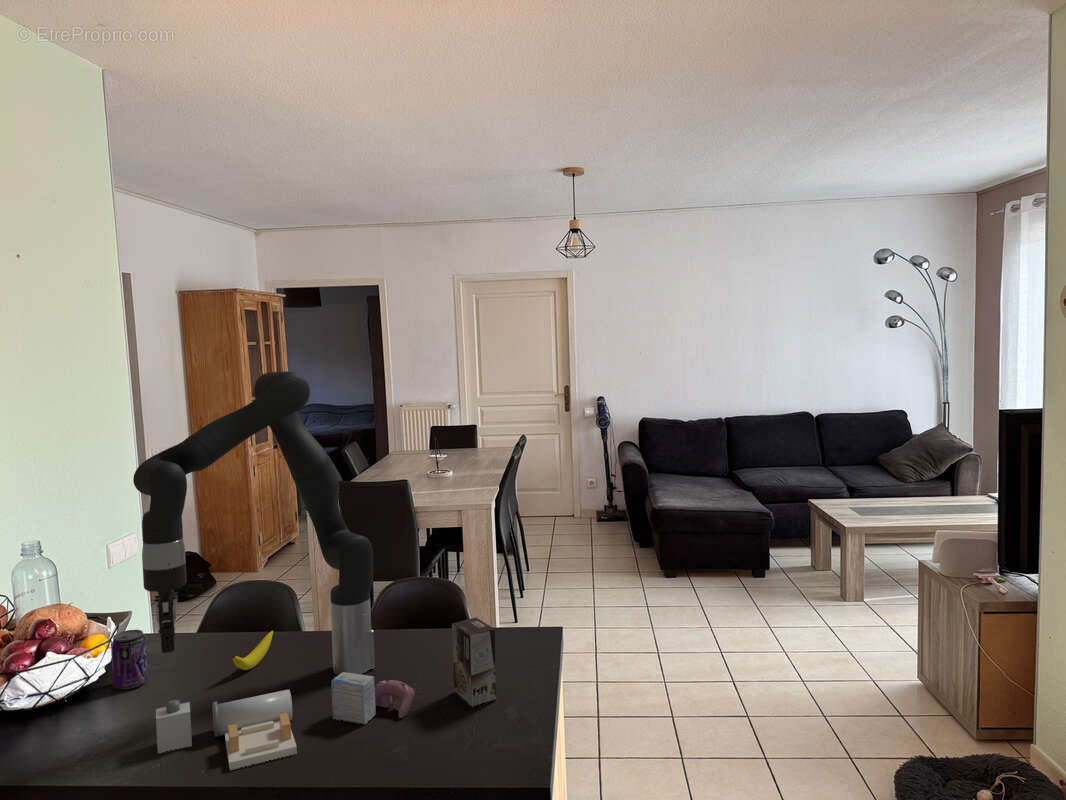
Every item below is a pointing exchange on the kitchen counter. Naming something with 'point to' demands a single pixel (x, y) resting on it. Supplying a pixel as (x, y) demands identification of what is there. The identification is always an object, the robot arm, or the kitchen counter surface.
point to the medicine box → (353, 697)
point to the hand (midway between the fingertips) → (168, 643)
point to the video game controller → (398, 689)
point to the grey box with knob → (173, 726)
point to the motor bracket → (256, 728)
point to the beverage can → (129, 659)
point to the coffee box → (474, 661)
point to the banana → (254, 654)
